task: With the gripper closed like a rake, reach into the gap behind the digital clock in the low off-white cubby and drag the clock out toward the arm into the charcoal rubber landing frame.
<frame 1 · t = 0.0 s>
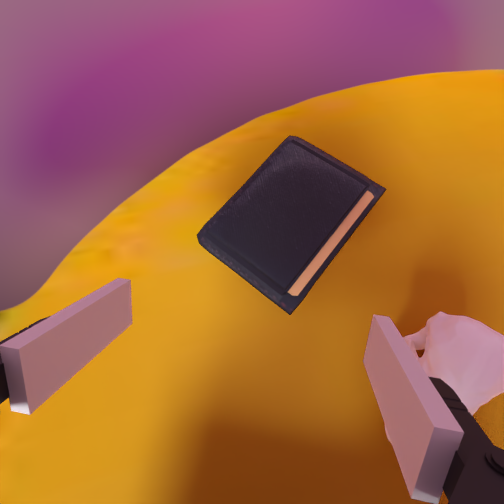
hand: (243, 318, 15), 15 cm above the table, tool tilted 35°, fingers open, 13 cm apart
pale pink lumpy piece: (414, 384, 27), on the table
wallet: (290, 217, 35), on the table
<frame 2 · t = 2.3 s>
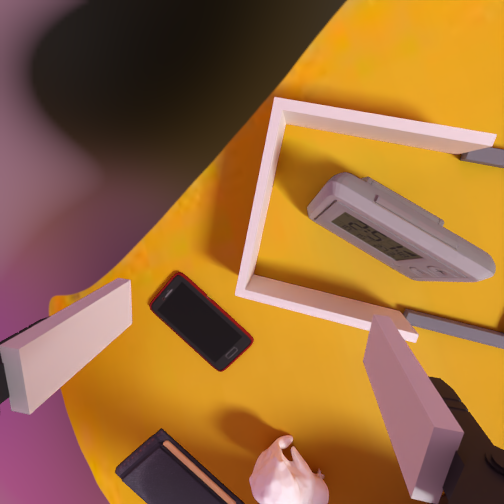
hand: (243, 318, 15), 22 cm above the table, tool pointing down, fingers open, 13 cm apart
cubby: (348, 221, 34), on the table
landing frame: (490, 252, 32), on the table
cell phone: (202, 320, 41), on the table
pale pink lumpy piece: (294, 456, 43), on the table
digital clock: (371, 227, 34), on the table
wallet: (181, 483, 49), on the table
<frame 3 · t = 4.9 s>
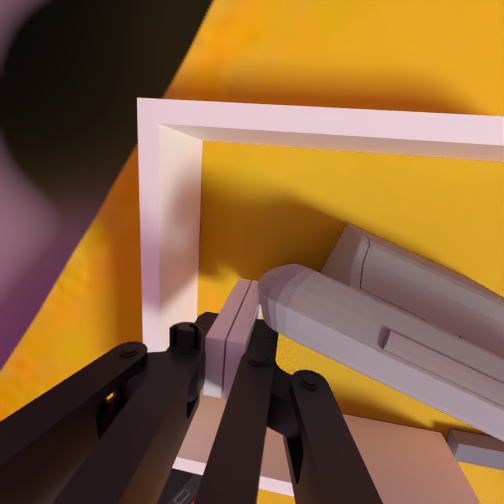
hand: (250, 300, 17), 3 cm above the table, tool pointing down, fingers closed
cubby: (336, 297, 19), on the table
cell phone: (134, 447, 27), on the table
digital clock: (375, 302, 19), on the table, touching gripper
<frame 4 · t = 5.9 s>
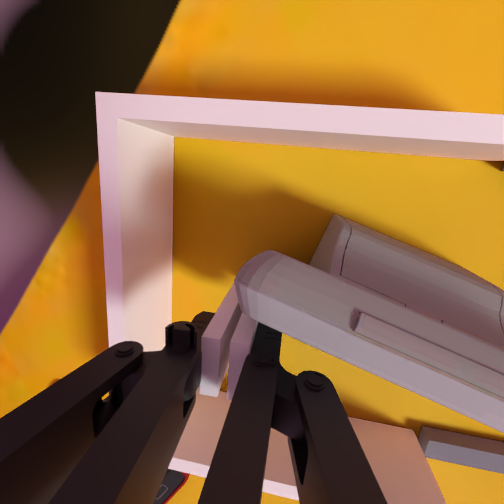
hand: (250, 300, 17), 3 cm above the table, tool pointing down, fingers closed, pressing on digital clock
cubby: (308, 293, 20), on the table
cell phone: (113, 443, 27), on the table
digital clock: (364, 292, 19), on the table, touching gripper
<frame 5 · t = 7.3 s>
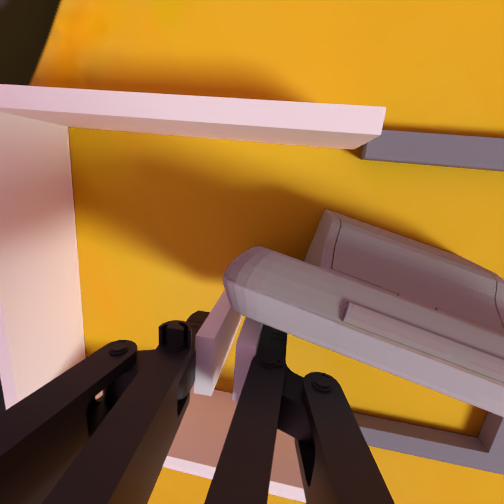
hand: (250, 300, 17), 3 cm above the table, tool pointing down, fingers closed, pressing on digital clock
cubby: (201, 277, 21), on the table
landing frame: (436, 312, 18), on the table
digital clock: (361, 286, 19), on the table, touching gripper
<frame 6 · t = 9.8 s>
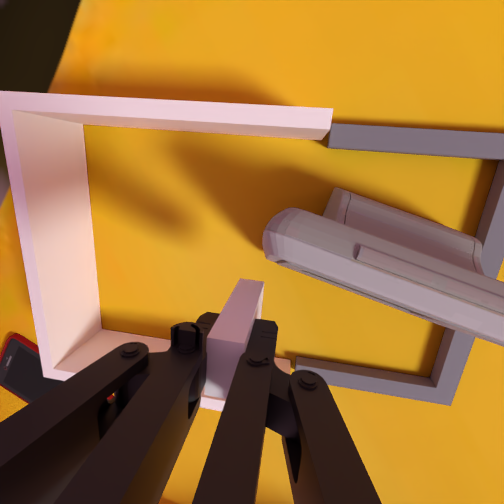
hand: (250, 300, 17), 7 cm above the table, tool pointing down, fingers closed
cubby: (199, 250, 24), on the table
landing frame: (392, 274, 22), on the table
cell phone: (63, 386, 32), on the table
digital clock: (364, 254, 23), on the table
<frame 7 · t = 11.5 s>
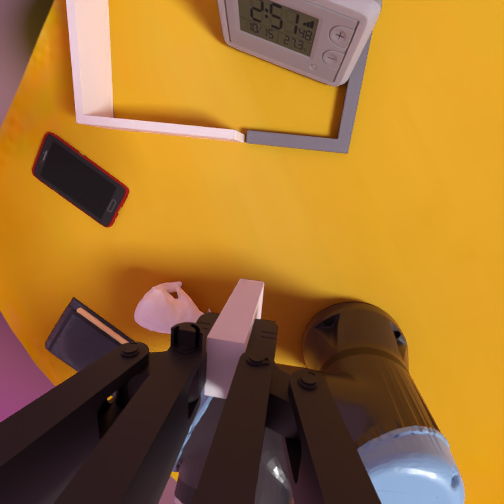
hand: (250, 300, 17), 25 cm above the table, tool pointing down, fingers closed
cubby: (182, 47, 36), on the table
landing frame: (309, 55, 34), on the table
cell phone: (83, 181, 44), on the table
pale pink lumpy piece: (189, 303, 47), on the table
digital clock: (290, 44, 34), on the table
wallet: (103, 350, 54), on the table
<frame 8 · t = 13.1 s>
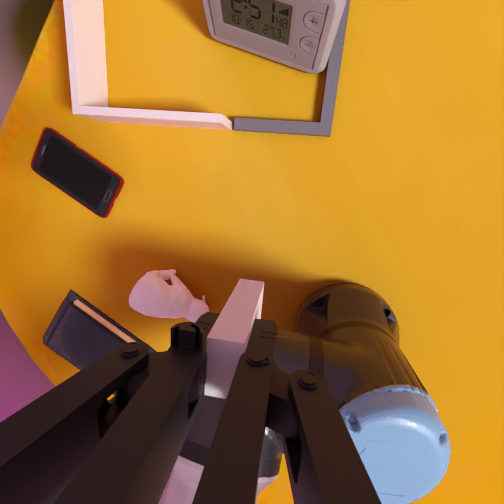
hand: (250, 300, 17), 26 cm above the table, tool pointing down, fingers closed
cubby: (172, 42, 38), on the table
landing frame: (290, 45, 36), on the table
cell phone: (80, 173, 46), on the table
pale pink lumpy piece: (183, 291, 48), on the table
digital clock: (271, 36, 36), on the table
wallet: (100, 344, 55), on the table
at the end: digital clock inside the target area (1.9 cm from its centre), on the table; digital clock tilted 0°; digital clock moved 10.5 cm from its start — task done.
